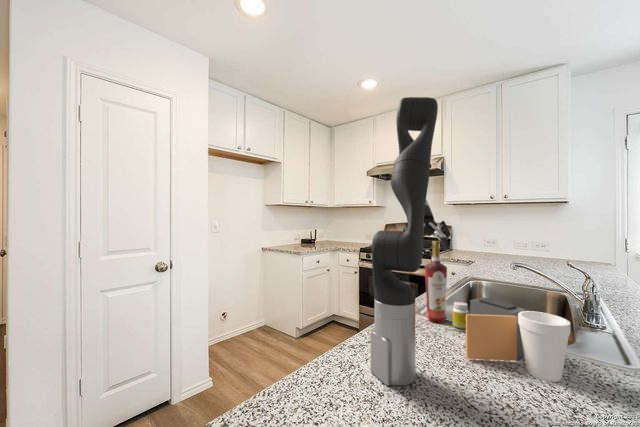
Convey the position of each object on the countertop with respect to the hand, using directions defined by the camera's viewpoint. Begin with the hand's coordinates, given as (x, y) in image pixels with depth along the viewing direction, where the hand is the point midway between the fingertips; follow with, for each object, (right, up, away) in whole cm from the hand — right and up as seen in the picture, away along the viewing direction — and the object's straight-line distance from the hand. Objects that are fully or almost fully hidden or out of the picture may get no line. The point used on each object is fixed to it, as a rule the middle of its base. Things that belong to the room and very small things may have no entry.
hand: (433, 250), depth 88 cm
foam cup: (+16, -26, -24) cm, 38 cm away
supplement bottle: (+9, -26, +2) cm, 28 cm away
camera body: (+13, -26, -11) cm, 31 cm away
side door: (+7, -25, -18) cm, 32 cm away
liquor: (+5, -26, +9) cm, 28 cm away
